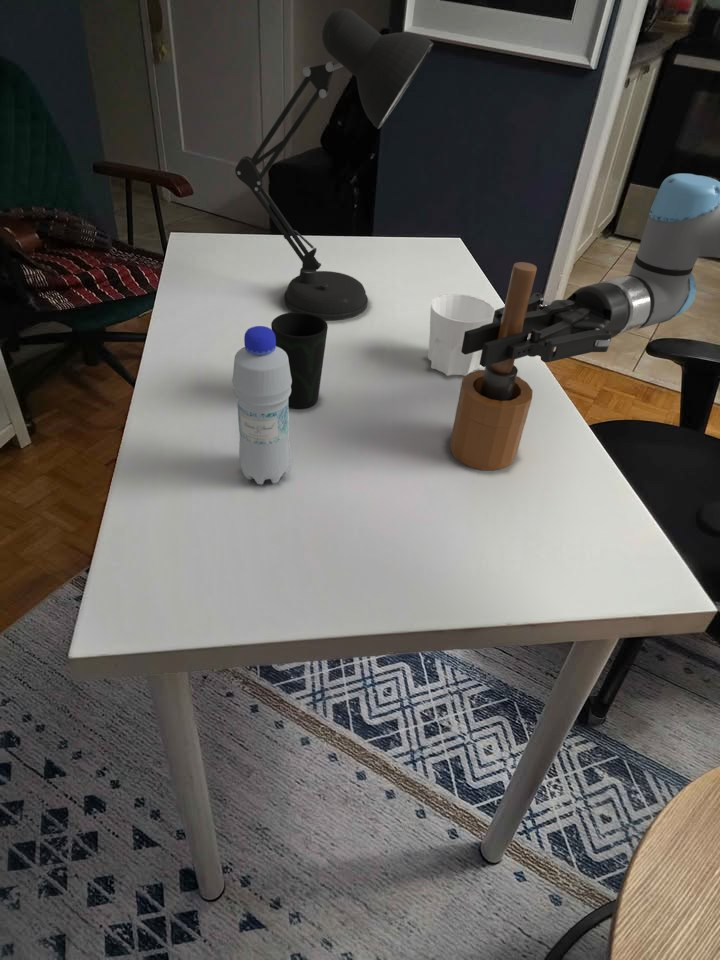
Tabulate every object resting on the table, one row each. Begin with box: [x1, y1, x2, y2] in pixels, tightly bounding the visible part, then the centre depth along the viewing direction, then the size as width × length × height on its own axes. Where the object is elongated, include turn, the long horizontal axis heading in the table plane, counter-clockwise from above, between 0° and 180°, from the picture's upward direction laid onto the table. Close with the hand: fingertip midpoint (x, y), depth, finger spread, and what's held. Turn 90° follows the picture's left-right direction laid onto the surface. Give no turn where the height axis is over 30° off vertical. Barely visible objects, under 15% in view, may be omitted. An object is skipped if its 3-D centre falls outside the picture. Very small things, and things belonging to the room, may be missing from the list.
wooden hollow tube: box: [449, 369, 533, 471], centre depth 86 cm, size 9×9×10 cm
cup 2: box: [427, 293, 496, 377], centre depth 104 cm, size 10×10×10 cm
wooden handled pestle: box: [480, 261, 538, 401], centre depth 79 cm, size 4×4×20 cm
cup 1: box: [270, 311, 329, 410], centre depth 92 cm, size 8×8×12 cm
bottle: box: [231, 325, 292, 485], centre depth 76 cm, size 7×7×20 cm
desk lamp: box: [234, 7, 434, 321], centre depth 107 cm, size 24×26×45 cm
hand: (474, 349), depth 76 cm, fingers closed on wooden handled pestle, 3 cm apart
